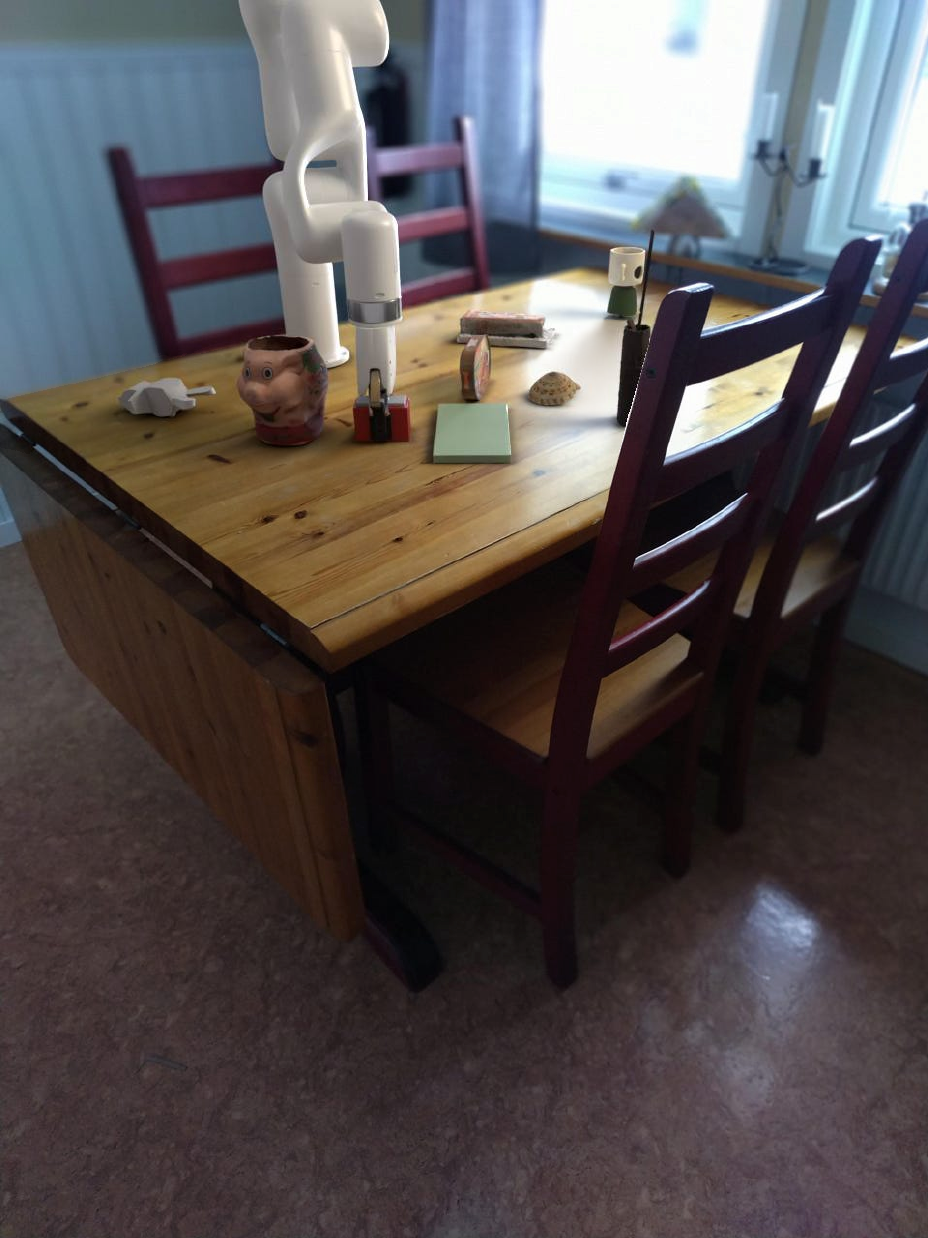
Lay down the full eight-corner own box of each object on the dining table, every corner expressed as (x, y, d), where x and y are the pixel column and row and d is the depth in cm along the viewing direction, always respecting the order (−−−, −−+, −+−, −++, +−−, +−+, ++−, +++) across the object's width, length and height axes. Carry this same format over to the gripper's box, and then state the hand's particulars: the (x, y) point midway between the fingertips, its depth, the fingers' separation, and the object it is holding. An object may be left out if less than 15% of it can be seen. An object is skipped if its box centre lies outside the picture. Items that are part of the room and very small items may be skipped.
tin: (476, 407, 138) (476, 355, 133) (457, 406, 138) (456, 354, 134) (492, 376, 150) (493, 328, 145) (475, 375, 150) (475, 327, 146)
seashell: (592, 381, 141) (566, 374, 135) (582, 415, 142) (556, 409, 136) (552, 370, 145) (526, 363, 139) (543, 403, 147) (516, 397, 141)
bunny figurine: (139, 373, 141) (215, 371, 136) (149, 403, 144) (224, 402, 139) (102, 392, 134) (181, 391, 129) (113, 423, 136) (191, 424, 131)
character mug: (633, 324, 175) (640, 257, 168) (599, 321, 177) (605, 254, 170) (642, 310, 184) (649, 245, 176) (610, 307, 186) (615, 243, 178)
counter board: (433, 463, 120) (433, 455, 120) (438, 410, 137) (438, 403, 136) (510, 462, 120) (510, 454, 120) (506, 410, 137) (506, 403, 136)
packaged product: (455, 318, 163) (467, 304, 171) (455, 343, 166) (468, 329, 173) (548, 323, 159) (556, 309, 167) (547, 349, 162) (555, 334, 170)
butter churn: (595, 408, 137) (610, 219, 121) (654, 408, 137) (677, 219, 121) (601, 430, 129) (617, 232, 113) (663, 430, 129) (689, 232, 113)
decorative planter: (280, 405, 140) (268, 318, 132) (351, 409, 138) (343, 322, 130) (229, 454, 124) (212, 359, 116) (309, 460, 122) (297, 364, 114)
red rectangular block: (408, 441, 127) (406, 404, 124) (355, 441, 127) (352, 404, 124) (410, 429, 130) (408, 393, 127) (358, 430, 131) (355, 394, 127)
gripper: (355, 293, 125) (364, 412, 136) (339, 327, 111) (351, 456, 122) (405, 293, 125) (411, 412, 135) (397, 326, 111) (404, 456, 122)
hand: (383, 432), depth 128 cm, fingers closed on red rectangular block, 4 cm apart
